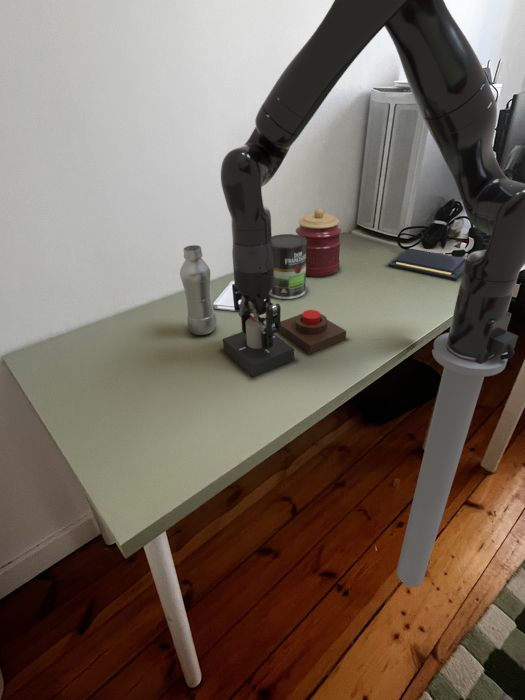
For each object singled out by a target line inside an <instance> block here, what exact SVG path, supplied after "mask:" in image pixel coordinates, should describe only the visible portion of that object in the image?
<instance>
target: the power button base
mask: <svg viewBox="0 0 525 700" xmlns="http://www.w3.org/2000/svg"><path fill="white" fill-rule="evenodd" d="M320 314H321V318H320V323H318V324H316V325H308V324H304V323H303V322H302V313H299V314H298V315H295V316H293V317H292V316H291V317H289V318H286V319H284V320H280V331H279V332H278V333H279V334H281V335H283V336H284V337H285V338H287V339H288V340H289V341H291V342H292V343H294V344H295V345H296V346H298V347H299V348H300V349H302V351H304V352H306V353H307V354H309V355H311V354H313V353H316V352H318V351H321V350H323V349H326V348H328V347H331V346H333V345H336V344H338V343H340V342H343V341H345V340H346V339H347V330H345V329H344V328H342V327H341V326H339V325H337V324H335V323H334V322H332V321H330V320H329V319H328V318H327V316H326V315H324V314H322V313H320Z"/></svg>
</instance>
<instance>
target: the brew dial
mask: <svg viewBox="0 0 525 700" xmlns="http://www.w3.org/2000/svg"><path fill="white" fill-rule="evenodd" d="M260 317H261V318H262V317H263V316H260ZM264 325H265V327H266V321H264ZM261 333H262V331H261V328H260V325H259V323H256V321H255V318H254V315H252V316H251V317H250V318H249V319H248V320H246V338H247V345H248V346H249V347H250V348H253V349H260V348H262V339H261Z"/></svg>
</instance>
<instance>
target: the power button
mask: <svg viewBox="0 0 525 700" xmlns="http://www.w3.org/2000/svg"><path fill="white" fill-rule="evenodd" d="M301 314H302V322H303V323H304V324H308V325H316V324H318V323H320V318H321V314H322V313H321V312H320V311H318V310H315V309H308V310H304V311H302V313H301Z"/></svg>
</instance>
